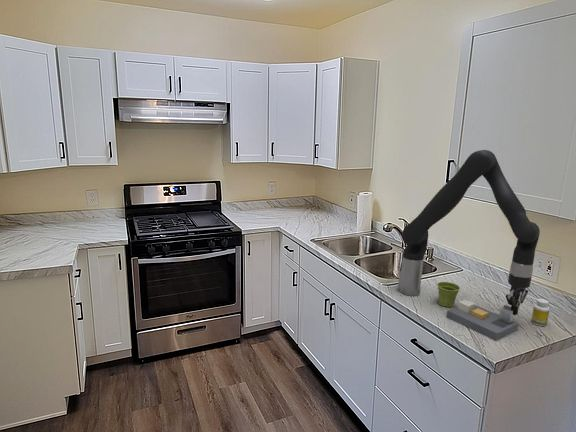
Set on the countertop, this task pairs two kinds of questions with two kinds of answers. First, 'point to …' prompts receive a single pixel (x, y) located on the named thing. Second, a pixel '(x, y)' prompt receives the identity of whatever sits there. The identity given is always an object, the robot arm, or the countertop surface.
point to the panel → (483, 323)
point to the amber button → (479, 314)
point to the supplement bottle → (540, 312)
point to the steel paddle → (506, 314)
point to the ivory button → (466, 306)
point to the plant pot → (447, 293)
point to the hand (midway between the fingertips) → (513, 314)
